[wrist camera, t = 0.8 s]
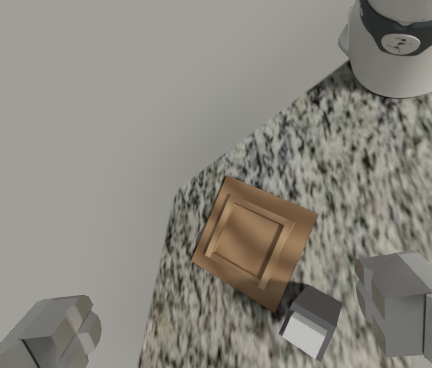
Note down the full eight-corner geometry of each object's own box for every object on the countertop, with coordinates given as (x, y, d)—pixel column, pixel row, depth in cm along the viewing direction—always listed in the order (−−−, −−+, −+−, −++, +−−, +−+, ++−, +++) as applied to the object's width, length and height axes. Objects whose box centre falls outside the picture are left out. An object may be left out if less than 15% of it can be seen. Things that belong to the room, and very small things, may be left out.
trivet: (228, 176, 50) (223, 174, 48) (318, 214, 42) (316, 213, 41) (193, 260, 51) (187, 261, 49) (276, 311, 43) (272, 315, 41)
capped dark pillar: (308, 284, 42) (288, 305, 30) (342, 302, 40) (334, 333, 28) (297, 309, 42) (274, 340, 30) (330, 328, 40) (318, 370, 28)
